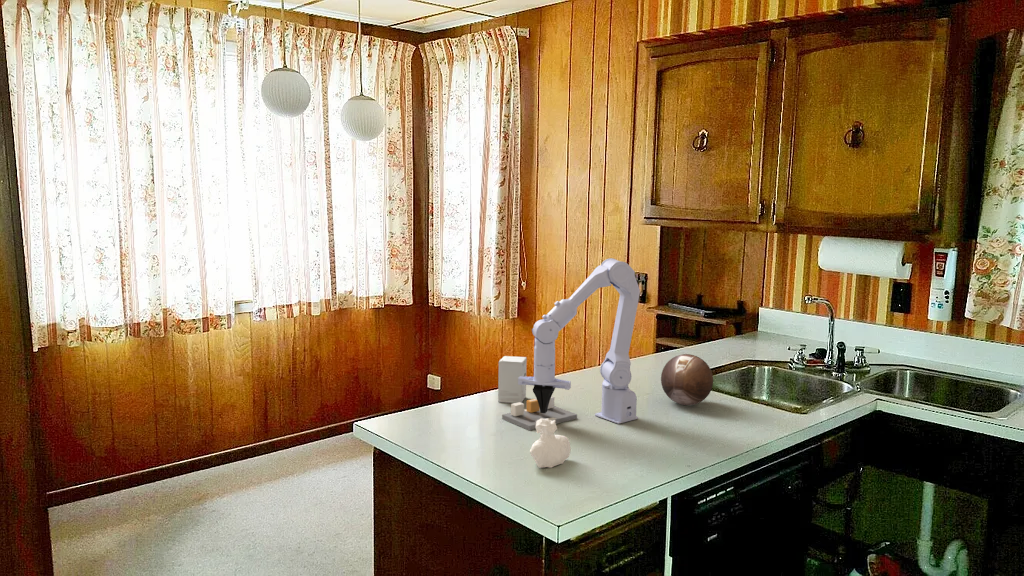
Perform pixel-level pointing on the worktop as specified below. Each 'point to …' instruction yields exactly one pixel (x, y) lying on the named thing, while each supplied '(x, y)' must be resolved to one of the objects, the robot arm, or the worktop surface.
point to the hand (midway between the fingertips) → (543, 412)
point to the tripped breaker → (532, 405)
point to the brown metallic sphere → (687, 379)
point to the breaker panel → (536, 415)
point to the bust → (549, 445)
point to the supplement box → (511, 379)
